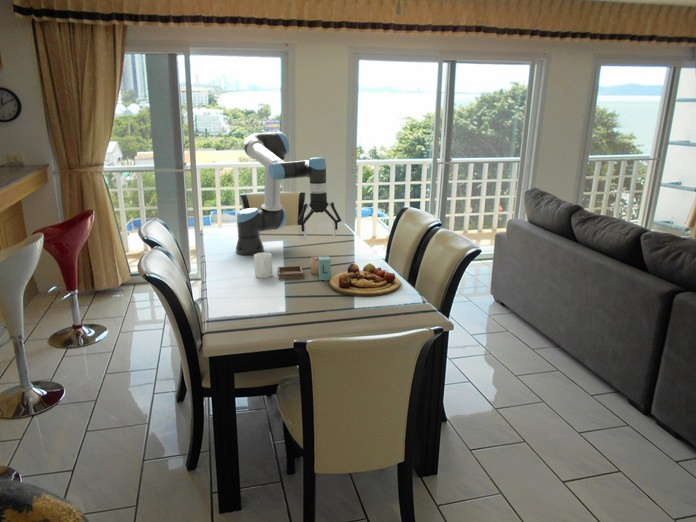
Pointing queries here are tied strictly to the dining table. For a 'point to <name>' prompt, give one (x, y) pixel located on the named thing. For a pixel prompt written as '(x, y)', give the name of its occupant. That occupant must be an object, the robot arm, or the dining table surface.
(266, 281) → the dining table surface
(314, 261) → the terracotta pot
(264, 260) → the mug
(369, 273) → the wooden plate with food
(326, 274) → the teal block
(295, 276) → the walnut box
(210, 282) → the dining table surface
